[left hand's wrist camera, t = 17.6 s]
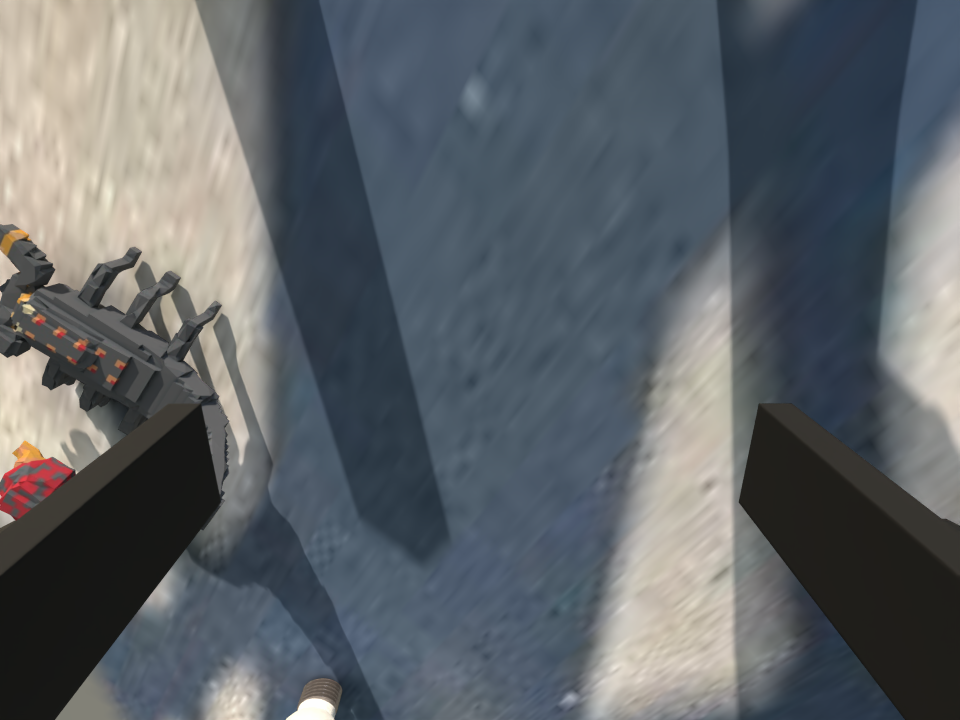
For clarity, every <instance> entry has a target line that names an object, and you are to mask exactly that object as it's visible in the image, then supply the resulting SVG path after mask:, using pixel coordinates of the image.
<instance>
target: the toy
mask: <svg viewBox="0 0 960 720" xmlns="http://www.w3.org/2000/svg"><path fill="white" fill-rule="evenodd" d="M28 237H29V235H28V234H27V233H25V232H24V231H22V230H21V229H19V228H18V227H16V226H14V225H13V224H11V225H1V224H0V250H1V251H2V252H3V253H4V254H5V255H6V256H7V257H8V258H9V259H10V260H11V262H12V263H13V264H14V265H15V267H16V268H17V269H18V270H19V271H20V272H18V273H16V274H13V275H12V277H11V279H7V281H6V283H5V284H3V285H2V286H0V291H1V292H2V297H1V301H0V353H1V354H3V355H4V356H6V357H7V358H8V357H10V356H12V355H14V356H16V357H17V356H19V355H21V354H22V353H24V352H26V351H28V350H30V348H31V346H32V347H34V348H35V349H37V350H39V351H40V352H42V353H44V354H46V355H47V356H49V357H50V359H49V361H48V363H47V366H46V369H45V371H44V374H43V377H42V385H44V386H46V387H48V388H49V389H50V390H52V389H54V388H56V387H58V386H60V385H62V384H66V385H72V384H74V382H75V380H76V379H77V380H78V381H80V382H82V383H84V384H85V385H84V391H83V393H82V395H81V397H80V399H79V402H80V408H82V409H83V410H85V411H89V410H90V409H92V408H93V407H95V406H97V405H99V406H100V407H102V406H104V405H106V404H107V403H108V401H109V400H110V398H112V399H115V400H116V401H118V402H120V403H122V404H123V405H125V406H127V407H129V410H128V411H127V413H126V415H125V417H124V418H123V420H122V422H121V424H120V426H119V428H118V430H120V431H122V432H123V433H125V434H127V435H128V434H130V433H131V432H132V431H133V430H135V429H136V428H137V427H139V426H140V425H141V424H143V423H144V422H145V421H146V420H148V419H149V418H150V417H152V416H153V415H154V414H156V413H157V412H158V411H159V410H161V409H162V408H163V407H165V406H166V405H167V404H201V406H202V411H203V415H204V420H205V425H206V430H207V435H208V440H209V445H210V450H211V455H212V460H213V464H214V469H215V474H216V479H217V484H218V489H219V494H220V499H221V503H220V505H219V506H218V507H217V508H216V510H215V511H214V512H213V514H212V515H211V516H210V518H209V519H208V520H207V522H206V523H205V524H204V525H203V527H202V528H201V529H202V530H204V529H205V527H206V526H207V525H208V523H209V522H210V521H211V519H212V518H213V516H214V515H215V514H216V512H217V511H218V509H219V508H220V507H221V505H222V504H223V503H224V501H225V500H223V499H222V496H223V495H224V493H225V492H224V491H222V490H221V489H222V485H223V481H224V479H225V478H226V477H227V475H228V474H229V470H228V467H229V465H227V464H226V463H227V462H228V460H229V459H228V458H227V457H226V456H227V455H228V454H229V452H228V451H226V450H227V449H228V447H229V446H228V445H227V444H226V443H227V440H226V437H227V433H226V431H225V427H226V425H227V424H228V422H229V420H227V416H225V415H224V414H222V413H221V412H222V410H220V406H219V404H218V401H217V399H218V398H219V396H218V395H217V394H216V393H215V391H214V390H213V389H212V388H210V387H209V386H208V385H207V384H206V383H205V382H204V381H203V380H202V379H200V378H199V377H198V375H197V372H196V371H195V370H194V369H193V368H192V367H191V366H189V365H188V364H187V363H186V362H185V361H183V360H184V358H185V356H186V354H187V352H188V351H189V349H190V347H191V345H192V343H193V341H194V340H195V339H196V337H197V336H198V334H199V333H200V332H201V330H202V329H203V326H204V325H205V324H206V323H208V322H210V321H211V320H213V319H214V317H215V316H216V314H217V312H218V311H219V309H220V308H221V306H222V305H221V304H219V303H218V302H216V301H214V302H213V303H212V305H211V306H210V307H209V308H208V309H207V310H206V311H205V312H204V313H202V314H201V315H199V316H197V317H195V318H193V319H192V320H191V319H190V318H189V319H187V320H185V321H184V323H183V325H182V327H181V328H180V330H179V332H178V333H176V334H175V336H174V338H173V340H172V342H171V344H170V346H169V343H168V342H167V341H165V340H164V339H162V338H161V337H160V336H158V335H157V334H155V333H154V332H152V331H147V330H146V329H145V328H144V327H142V326H141V325H140V324H139V323H140V322H141V321H142V320H143V318H144V317H145V315H146V314H147V312H148V311H149V309H150V308H151V306H152V305H153V303H154V302H155V300H156V299H157V298H158V297H160V296H163V295H165V294H168V293H170V292H171V291H173V290H174V289H175V287H176V285H177V284H178V282H179V280H180V279H181V277H179V276H178V275H176V274H175V273H173V272H172V271H168V272H166V273H165V274H164V276H163V277H162V278H161V280H160V281H159V282H158V283H157V284H156V285H154V286H152V287H150V288H147V289H145V290H143V291H141V292H140V293H138V294H137V296H136V298H135V299H134V301H133V303H132V304H131V306H130V308H129V309H128V311H127V313H126V314H124V313H123V312H121V311H119V310H118V309H116V308H115V307H113V306H112V305H111V306H108V307H104V306H103V305H101V304H100V302H101V300H102V298H103V296H104V294H105V292H106V290H107V289H108V288H109V287H110V285H111V284H112V282H113V281H114V279H115V278H116V276H117V275H118V273H120V272H122V271H123V270H126V269H129V268H132V267H134V265H135V264H136V262H137V260H138V258H139V256H140V254H141V253H142V251H140V250H139V249H137V248H136V247H132V248H130V249H129V250H128V252H127V253H126V255H125V256H124V257H123V258H121V259H117V260H114V261H111V262H107V263H104V264H98V265H97V266H96V268H95V269H94V270H93V272H92V273H91V275H90V277H89V278H88V280H87V282H86V283H85V285H84V287H83V288H82V290H81V292H79V291H77V290H75V291H74V290H73V289H71V288H70V287H68V286H67V285H64V284H60V283H59V284H55V285H52V286H48V287H45V286H44V285H47V284H48V282H49V280H50V278H51V277H52V275H53V273H54V271H55V269H54V268H53V267H52V266H53V263H50V262H48V260H47V259H45V257H46V254H45V253H43V252H42V251H41V250H39V249H38V248H37V247H36V246H37V245H35V244H33V242H32V241H31V240H30V239H29V238H28ZM12 454H14V455H15V456H16V457H17V458H18V460H17V461H16V462H15V465H14V469H12V470H10V471H9V472H7V473H5V474H4V476H3V478H2V480H1V482H0V495H1V496H2V497H1V499H0V510H1V511H3V512H5V513H8V514H10V515H11V516H12V517H13V518H14V519H15V520H18V519H19V518H20V517H22V516H23V515H24V514H25V513H27V512H28V511H29V510H31V509H32V508H33V507H35V506H36V505H37V504H39V503H40V502H41V501H42V500H44V499H45V498H46V497H48V496H49V495H50V494H52V493H53V492H54V491H55V490H57V489H58V488H59V487H61V486H62V485H63V484H65V483H66V482H67V481H68V480H70V479H71V478H72V477H74V476H75V475H76V472H75V469H72V468H70V467H68V466H66V465H65V464H63V463H62V462H60V461H58V460H57V459H55V458H54V457H51V458H49V459H45V458H44V457H43V456H42V454H41V452H40V451H39V450H38V449H37V448H35V447H34V446H32V445H31V444H29V443H28V442H26V441H24V442H23V443H22V445H21V446H20V447H19V448H18V449H17V450H15V451H14V452H13V453H12Z"/></svg>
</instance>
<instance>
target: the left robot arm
mask: <svg viewBox="0 0 960 720" xmlns="http://www.w3.org/2000/svg"><path fill="white" fill-rule="evenodd" d="M220 503H221V499H220V494H219V489H218V484H217V479H216V474H215V469H214V464H213V460H212V455H211V450H210V445H209V440H208V435H207V430H206V425H205V420H204V415H203V411H202V406H201V404H167V405H166V406H165V407H163V408H162V409H161V410H159V411H158V412H157V413H156V414H154V415H153V416H152V417H150V418H149V419H148V420H146V421H145V422H144V423H143V424H141V425H140V426H139V427H137V428H136V429H135V430H133V431H132V432H131V433H130V434H128V435H127V436H126V437H124V438H123V439H122V440H120V441H119V442H118V443H117V444H115V445H114V446H113V447H111V448H110V449H109V450H107V451H106V452H105V453H104V454H102V455H101V456H100V457H98V458H97V459H96V460H94V461H93V462H92V463H91V464H89V465H88V466H87V467H85V468H84V469H83V470H81V471H80V472H79V473H78V474H76V475H75V476H74V477H72V478H71V479H70V480H68V481H67V482H66V483H65V484H63V485H62V486H61V487H59V488H58V489H57V490H55V491H54V492H53V493H52V494H50V495H49V496H48V497H46V498H45V499H44V500H42V501H41V502H40V503H39V504H37V505H36V506H35V507H33V508H32V509H31V510H29V511H28V512H27V513H25V514H24V515H23V516H22V517H20V518H19V519H18V520H16V521H13V522H11V523H9V524H7V525H5V526H3V527H2V528H0V720H55V719H56V718H57V716H58V715H59V714H60V712H61V711H62V710H63V708H64V707H65V706H66V704H67V703H68V702H69V701H70V699H71V698H72V697H73V695H74V694H75V693H76V691H77V690H78V689H79V687H80V686H81V685H82V684H83V682H84V681H85V680H86V678H87V677H88V676H89V674H90V673H91V672H92V670H93V669H94V668H95V667H96V665H97V664H98V663H99V661H100V660H101V659H102V657H103V656H104V655H105V654H106V652H107V651H108V650H109V648H110V647H111V646H112V644H113V643H114V642H115V640H116V639H117V638H118V637H119V635H120V634H121V633H122V631H123V630H124V629H125V627H126V626H127V625H128V623H129V622H130V621H131V620H132V618H133V617H134V616H135V614H136V613H137V612H138V610H139V609H140V608H141V606H142V605H143V604H144V603H145V601H146V600H147V599H148V597H149V596H150V595H151V593H152V592H153V591H154V589H155V588H156V587H157V586H158V584H159V583H160V582H161V580H162V579H163V578H164V576H165V575H166V574H167V572H168V571H169V570H170V569H171V567H172V566H173V565H174V563H175V562H176V561H177V559H178V558H179V557H180V555H181V554H182V553H183V552H184V550H185V549H186V548H187V546H188V545H189V544H190V542H191V541H192V540H193V538H194V537H195V536H196V535H197V533H198V532H199V531H200V529H201V528H202V527H203V525H204V524H205V523H206V522H207V520H208V519H209V518H210V516H211V515H212V514H213V512H214V511H215V510H216V508H217V507H218V506H219V505H220ZM739 503H740V505H741V506H742V507H743V508H744V510H745V511H746V512H747V514H748V515H749V516H750V518H751V519H752V520H753V522H754V523H755V524H756V525H757V527H758V528H759V529H760V531H761V532H762V533H763V535H764V536H765V537H766V539H767V540H768V541H769V542H770V544H771V545H772V546H773V548H774V549H775V550H776V552H777V553H778V554H779V555H780V557H781V558H782V559H783V561H784V562H785V563H786V565H787V566H788V567H789V569H790V570H791V571H792V572H793V574H794V575H795V576H796V578H797V579H798V580H799V582H800V583H801V584H802V586H803V587H804V588H805V589H806V591H807V592H808V593H809V595H810V596H811V597H812V599H813V600H814V601H815V603H816V604H817V605H818V606H819V608H820V609H821V610H822V612H823V613H824V614H825V616H826V617H827V618H828V620H829V621H830V622H831V623H832V625H833V626H834V627H835V629H836V630H837V631H838V633H839V634H840V635H841V637H842V638H843V639H844V640H845V642H846V643H847V644H848V646H849V647H850V648H851V650H852V651H853V652H854V654H855V655H856V656H857V657H858V659H859V660H860V661H861V663H862V664H863V665H864V667H865V668H866V669H867V670H868V672H869V673H870V674H871V676H872V677H873V678H874V680H875V681H876V682H877V684H878V685H879V686H880V687H881V689H882V690H883V691H884V693H885V694H886V695H887V697H888V698H889V699H890V701H891V702H892V703H893V704H894V706H895V707H896V708H897V710H898V711H899V712H900V714H901V715H902V716H903V718H904V719H905V720H960V526H959V525H957V524H955V523H953V522H951V521H949V520H947V519H941V518H940V517H938V516H937V515H936V514H934V513H933V512H932V511H931V510H929V509H928V508H927V507H925V506H924V505H923V504H921V503H920V502H919V501H918V500H916V499H915V498H914V497H912V496H911V495H910V494H908V493H907V492H906V491H905V490H903V489H902V488H901V487H899V486H898V485H897V484H895V483H894V482H893V481H892V480H890V479H889V478H888V477H886V476H885V475H884V474H882V473H881V472H880V471H879V470H877V469H876V468H875V467H873V466H872V465H871V464H869V463H868V462H867V461H866V460H864V459H863V458H862V457H860V456H859V455H858V454H856V453H855V452H854V451H853V450H851V449H850V448H849V447H847V446H846V445H845V444H843V443H842V442H841V441H840V440H838V439H837V438H836V437H834V436H833V435H832V434H830V433H829V432H828V431H827V430H825V429H824V428H823V427H821V426H820V425H819V424H817V423H816V422H815V421H814V420H812V419H811V418H810V417H808V416H807V415H806V414H804V413H803V412H802V411H801V410H799V409H798V408H797V407H795V406H794V405H793V404H759V406H758V411H757V415H756V420H755V425H754V430H753V435H752V440H751V445H750V450H749V455H748V460H747V464H746V469H745V474H744V479H743V484H742V489H741V494H740V499H739Z"/></svg>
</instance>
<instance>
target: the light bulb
mask: <svg viewBox="0 0 960 720" xmlns="http://www.w3.org/2000/svg"><path fill="white" fill-rule="evenodd" d="M341 694H342V688H341V686H340V685H339V683H337V682H336V681H334V680H331V679H324V678H322V679H315V680H312V681H310V682H309V683H307V684H306V685H305V687H304V689H303V692H302V695H301V698H300V701H299V704H298V707H297V711H296V712H295V713H293V714H292V715H291V716H289V717H288V718H287V719H286V720H334V717H335V714H336V713H337V710H338V705H339V701H340V698H341Z"/></svg>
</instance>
